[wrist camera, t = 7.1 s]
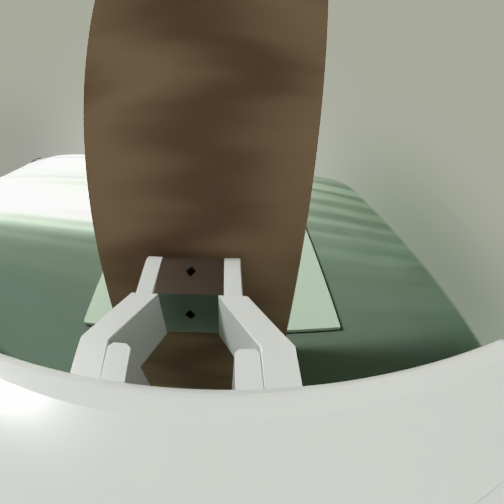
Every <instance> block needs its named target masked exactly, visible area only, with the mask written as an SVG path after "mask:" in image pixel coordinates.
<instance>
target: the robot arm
mask: <svg viewBox="0 0 504 504" xmlns="http://www.w3.org/2000/svg"><path fill="white" fill-rule="evenodd" d="M167 331H174V332H204V333H219V335H220V337H221V338H222V340H223V341H224V343H225V344H226V346H227V347H228V349H229V350H230V352H231V353H232V355H233V356H234V366H233V380H232V390H212V389H186V388H170V387H158V386H150V384H149V382H148V381H147V379H146V377H145V375H144V373H143V371H142V369H141V366H142V364H143V363H144V362H145V361H146V359H147V358H148V357H149V355H150V354H151V353H152V352H153V350H154V349H155V348H156V347H157V345H158V344H159V343H160V342H161V340H162V339H163V338H164V337H165V335H166V334H167ZM0 504H504V339H501V340H497V341H495V342H493V343H490V344H487V345H485V346H482V347H479V348H477V349H474V350H471V351H468V352H465V353H462V354H459V355H456V356H453V357H450V358H447V359H443V360H440V361H436V362H433V363H429V364H426V365H422V366H418V367H414V368H410V369H406V370H402V371H397V372H393V373H388V374H383V375H378V376H373V377H367V378H362V379H356V380H350V381H343V382H336V383H328V384H320V385H311V386H302V381H301V375H300V370H299V364H298V359H297V353H296V348H295V346H294V345H293V344H292V343H291V342H290V341H289V340H288V339H287V337H286V336H285V335H284V334H283V333H282V332H281V331H280V330H279V329H278V328H277V327H276V326H275V325H274V324H273V323H272V322H271V321H270V320H269V318H268V317H267V316H266V315H265V314H264V313H263V312H262V311H261V310H260V309H259V308H258V307H257V306H256V305H255V303H254V302H253V301H252V300H251V299H250V298H249V297H248V296H243V289H242V273H241V260H240V258H183V257H156V256H149V257H148V258H147V259H146V262H145V265H144V268H143V271H142V274H141V277H140V281H139V284H138V287H137V291H136V293H130V294H129V295H128V296H127V297H126V298H125V299H123V300H122V301H121V302H120V303H119V304H118V305H116V306H115V307H114V308H113V309H112V310H111V311H109V312H108V313H107V314H106V315H105V316H104V317H103V318H101V319H100V320H99V321H98V322H97V323H96V324H95V325H93V326H92V327H91V328H90V329H89V330H88V331H87V332H86V333H84V334H83V335H82V336H81V338H80V341H79V345H78V348H77V351H76V354H75V358H74V361H73V364H72V368H71V371H70V373H68V372H64V371H59V370H55V369H51V368H47V367H43V366H40V365H36V364H33V363H29V362H26V361H23V360H19V359H16V358H13V357H10V356H7V355H4V354H1V353H0Z"/></svg>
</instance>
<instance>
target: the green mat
mask: <svg viewBox="0 0 504 504" xmlns="http://www.w3.org/2000/svg"><path fill="white" fill-rule="evenodd" d="M112 309H113V308H112V305H111V301H110V298H109V294H108V290H107V286H106V282H105V278H104V274H103V273H102V276H101V278H100V281H99V283H98V285H97V288H96V290H95V293H94V295H93V298H92V301H91V303H90V306H89V308H88V311H87V314H86V317H85V319H84V324H85V325H92V326H93V325H95V324H96V323H97V322H98V321H99V320H100V319H101V318H103V317H104V316H105V315H106V314H107V313H108V312H109V311H111V310H112ZM339 329H340V324H339V321H338V318H337V315H336V311H335V308H334V306H333V303H332V300H331V297H330V294H329V291H328V288H327V285H326V282H325V279H324V277H323V274H322V271H321V268H320V266H319V263H318V260H317V257H316V255H315V252H314V249H313V247H312V244H311V241H310V239H309V236H308V234H307V231H306V230H305V237H304V243H303V249H302V255H301V260H300V266H299V272H298V277H297V283H296V288H295V293H294V298H293V303H292V309H291V314H290V319H289V323H288V328H287V333H289V332H309V331H325V330H339Z"/></svg>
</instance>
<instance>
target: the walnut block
mask: <svg viewBox="0 0 504 504" xmlns="http://www.w3.org/2000/svg"><path fill="white" fill-rule="evenodd" d="M327 19H328V0H95V4H94V8H93V13H92V19H91V25H90V32H89V39H88V47H87V56H86V68H85V84H84V142H85V159H86V172H87V182H88V191H89V199H90V206H91V213H92V219H93V225H94V231H95V237H96V242H97V247H98V252H99V257H100V261H101V266H102V270H103V274H104V278H105V282H106V286H107V290H108V294H109V298H110V301H111V305H112V308H114V307H115V306H116V305H118V304H119V303H120V302H121V301H122V300H123V299H125V298H126V297H127V296H128V295H129V294H130V293H136V291H137V287H138V284H139V281H140V277H141V274H142V271H143V268H144V265H145V262H146V259H147V258H148V257H149V256H156V257H183V258H240V260H241V273H242V289H243V296H248V297H249V298H250V299H251V300H252V301H253V302H254V303H255V305H256V306H257V307H258V308H259V309H260V310H261V311H262V312H263V313H264V314H265V315H266V316H267V317H268V318H269V320H270V321H271V322H272V323H273V324H274V325H275V326H276V327H277V328H278V329H279V330H280V331H281V332H282V333H283V334H284V335H285V336H286V333H287V328H288V323H289V319H290V314H291V309H292V303H293V298H294V293H295V288H296V283H297V277H298V272H299V266H300V260H301V255H302V249H303V243H304V237H305V230H306V224H307V218H308V211H309V204H310V198H311V191H312V183H313V176H314V168H315V160H316V152H317V144H318V135H319V125H320V117H321V106H322V95H323V84H324V72H325V71H324V70H325V57H326V40H327ZM233 366H234V356H233V355H232V353H231V352H230V350H229V349H228V347H227V346H226V344H225V343H224V341H223V340H222V338H221V337H220V335H219V333H204V332H174V331H167V334H166V335H165V337H164V338H163V339H162V340H161V342H160V343H159V344H158V345H157V347H156V348H155V349H154V350H153V352H152V353H151V354H150V355H149V357H148V358H147V359H146V361H145V362H144V363H143V364H142V366H141V369H142V371H143V373H144V375H145V377H146V379H147V381H148V382H149V384H150V386H158V387H170V388H186V389H212V390H232V380H233Z"/></svg>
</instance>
